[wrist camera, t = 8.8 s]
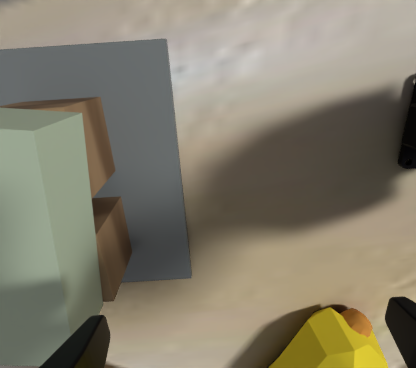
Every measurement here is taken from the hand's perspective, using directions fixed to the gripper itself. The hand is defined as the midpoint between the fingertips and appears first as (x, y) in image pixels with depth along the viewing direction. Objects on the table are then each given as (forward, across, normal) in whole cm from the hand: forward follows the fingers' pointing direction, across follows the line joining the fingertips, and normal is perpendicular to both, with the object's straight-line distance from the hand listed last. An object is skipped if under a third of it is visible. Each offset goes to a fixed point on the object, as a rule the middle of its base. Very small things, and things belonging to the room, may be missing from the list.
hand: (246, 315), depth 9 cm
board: (+12, +10, 0) cm, 16 cm away
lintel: (+7, +10, 0) cm, 12 cm away
